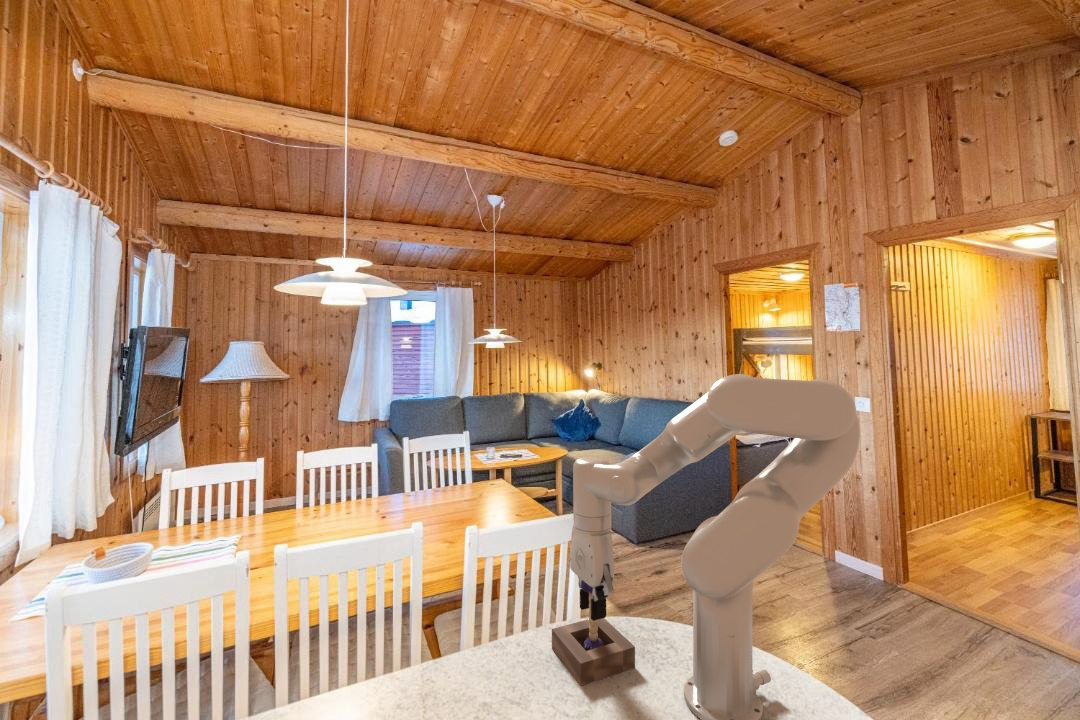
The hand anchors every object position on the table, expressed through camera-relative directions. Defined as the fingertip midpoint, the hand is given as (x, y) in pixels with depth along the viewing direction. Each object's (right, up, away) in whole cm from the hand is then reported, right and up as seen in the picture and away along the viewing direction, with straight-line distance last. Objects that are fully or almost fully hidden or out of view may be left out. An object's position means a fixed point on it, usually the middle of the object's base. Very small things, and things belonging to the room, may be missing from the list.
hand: (592, 612), depth 92 cm
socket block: (0, -9, 0) cm, 9 cm away
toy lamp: (0, -8, +1) cm, 8 cm away
